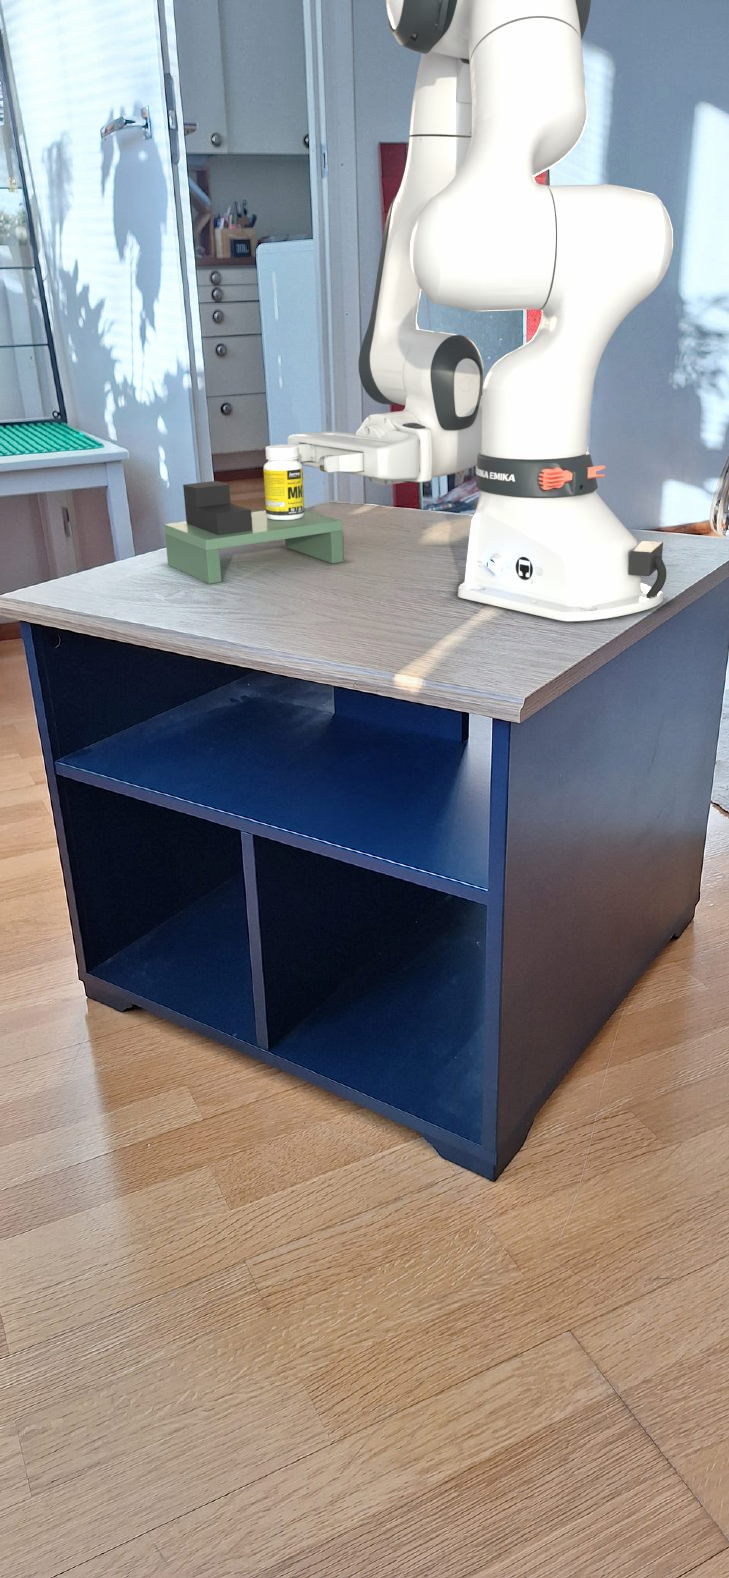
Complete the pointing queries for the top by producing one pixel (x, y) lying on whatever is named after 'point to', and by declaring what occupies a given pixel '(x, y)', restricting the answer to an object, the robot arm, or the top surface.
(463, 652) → the top surface
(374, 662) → the top surface
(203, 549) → the block
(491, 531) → the robot arm
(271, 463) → the supplement bottle
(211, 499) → the dark stepped block
